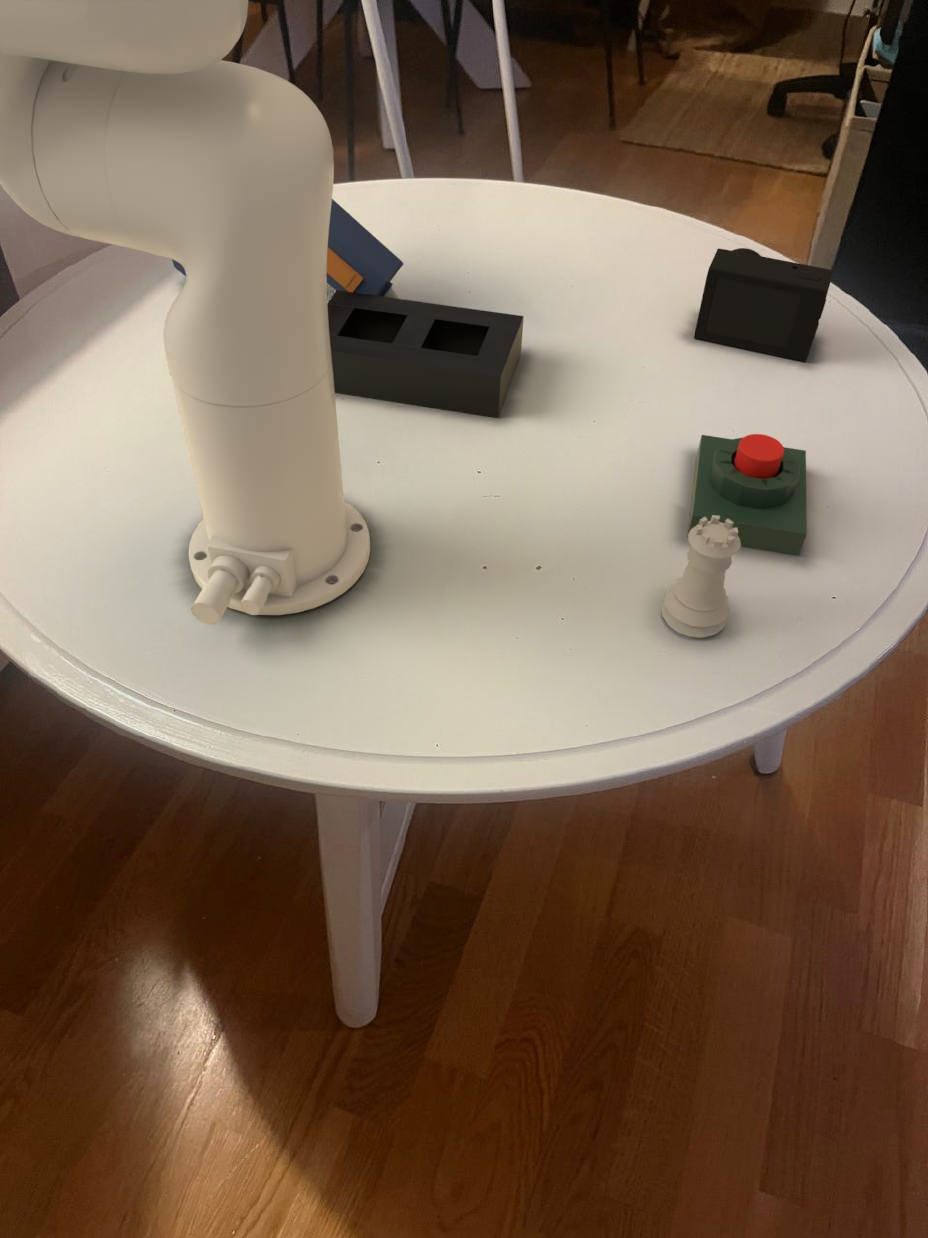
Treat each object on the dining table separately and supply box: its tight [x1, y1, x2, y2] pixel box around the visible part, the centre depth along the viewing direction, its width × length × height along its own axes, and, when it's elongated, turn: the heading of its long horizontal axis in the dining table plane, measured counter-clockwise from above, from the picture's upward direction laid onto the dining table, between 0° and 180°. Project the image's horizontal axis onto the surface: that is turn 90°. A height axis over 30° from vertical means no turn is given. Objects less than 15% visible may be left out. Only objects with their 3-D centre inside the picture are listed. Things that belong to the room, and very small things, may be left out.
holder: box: [327, 290, 524, 419], centre depth 84 cm, size 10×17×4 cm, turn 77°
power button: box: [734, 433, 784, 479], centre depth 71 cm, size 3×3×2 cm
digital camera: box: [693, 247, 834, 362], centre depth 88 cm, size 10×5×7 cm, turn 69°
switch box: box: [686, 434, 808, 557], centre depth 73 cm, size 10×8×4 cm
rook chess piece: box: [660, 515, 741, 639], centre depth 63 cm, size 4×4×8 cm
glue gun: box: [171, 198, 404, 299], centre depth 91 cm, size 6×31×15 cm
